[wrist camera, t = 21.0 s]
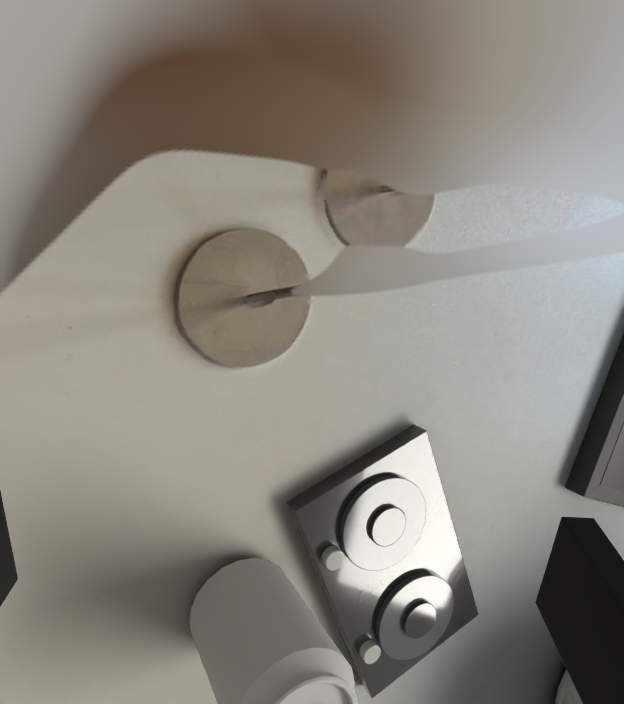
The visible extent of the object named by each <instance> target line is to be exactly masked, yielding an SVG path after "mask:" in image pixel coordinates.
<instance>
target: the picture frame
mask: <svg viewBox="0 0 624 704" xmlns="http://www.w3.org/2000/svg"><path fill="white" fill-rule="evenodd" d="M566 488H567V489H569V490H571V491H573V492H575V493H577V494H579V495H581V496H584V497H588V498H591V499H595V500H599V501H603V502H607V503H611V504H615V505H618V506H622V507H624V336H623V338H622V341H621V344H620V346H619V349H618V351H617V354H616V357H615V359H614V362H613V365H612V367H611V370H610V372H609V375H608V378H607V380H606V383H605V385H604V388H603V391H602V393H601V396H600V398H599V401H598V404H597V406H596V409H595V412H594V414H593V417H592V419H591V422H590V425H589V427H588V430H587V432H586V435H585V438H584V440H583V443H582V445H581V448H580V451H579V453H578V456H577V459H576V461H575V464H574V466H573V469H572V472H571V474H570V477H569V479H568V482H567V485H566Z"/></svg>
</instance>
